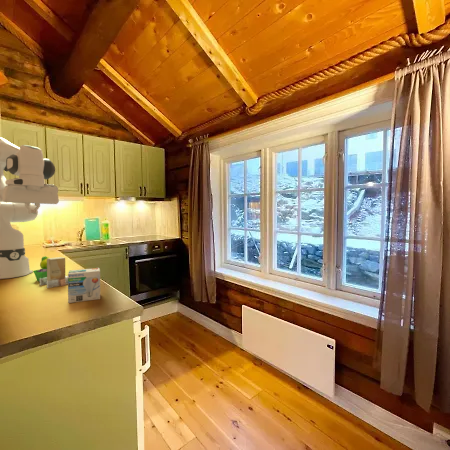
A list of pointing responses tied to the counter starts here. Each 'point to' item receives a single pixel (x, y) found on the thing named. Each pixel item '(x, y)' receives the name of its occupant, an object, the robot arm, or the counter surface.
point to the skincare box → (55, 268)
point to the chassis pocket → (54, 282)
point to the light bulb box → (83, 285)
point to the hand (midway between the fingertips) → (32, 213)
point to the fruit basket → (42, 272)
